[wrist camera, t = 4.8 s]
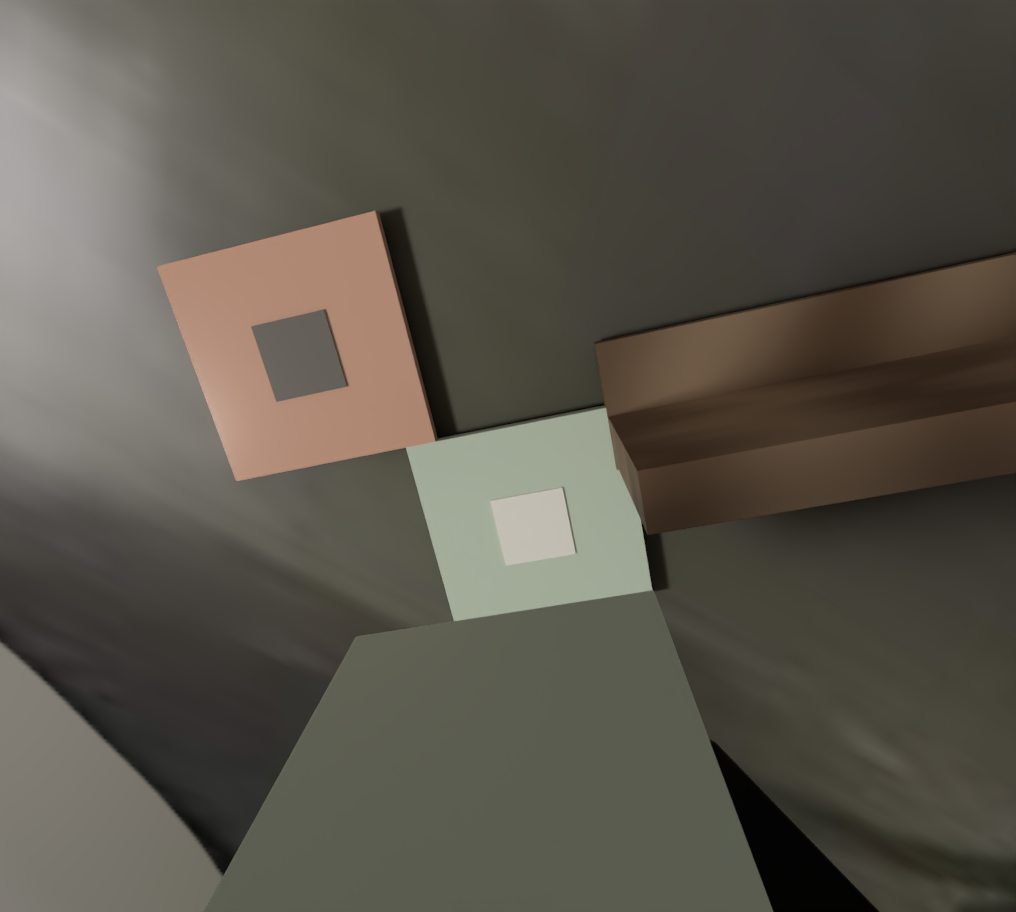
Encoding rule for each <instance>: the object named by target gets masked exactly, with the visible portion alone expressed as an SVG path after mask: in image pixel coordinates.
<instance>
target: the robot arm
mask: <svg viewBox="0 0 1016 912" xmlns="http://www.w3.org/2000/svg"><path fill="white" fill-rule="evenodd" d="M710 743H711V746H712V748H713V751H714V754H715V756H716V759H717V762H718V765H719V767H720V770H721V773H722V775H723V778H724V781H725V783H726V786H727V789H728V791H729V794H730V797H731V799H732V802H733V805H734V807H735V810H736V813H737V816H738V818H739V821H740V824H741V826H742V829H743V832H744V834H745V837H746V840H747V842H748V845H749V848H750V850H751V853H752V856H753V858H754V861H755V864H756V867H757V869H758V872H759V875H760V877H761V880H762V883H763V885H764V888H765V891H766V893H767V896H768V899H769V901H770V904H771V907H772V909H773V912H879V911H878V910H877V909H876V908H875V907H874V906H873V905H872V904H871V903H870V902H869V901H868V900H867V898H866V897H865V896H864V895H863V894H862V893H861V892H860V891H859V890H858V889H857V888H856V887H855V886H854V885H853V884H852V883H851V882H850V881H849V880H848V879H847V878H846V877H845V876H844V875H843V874H842V873H841V872H840V871H839V870H838V868H837V867H836V866H835V865H834V864H833V863H832V862H831V861H830V860H829V859H828V858H827V857H826V856H825V855H824V854H823V853H822V852H821V851H820V850H819V849H818V848H817V847H816V846H815V845H814V844H813V843H812V842H811V841H810V840H809V839H808V837H807V836H806V835H805V834H804V833H803V832H802V831H801V830H800V829H799V828H798V827H797V826H796V825H795V824H794V823H793V822H792V821H791V820H790V819H789V818H788V817H787V816H786V815H785V814H784V813H783V812H782V811H781V810H780V809H779V808H778V806H777V805H776V804H775V803H774V802H773V801H772V800H771V799H770V798H769V797H768V796H767V795H766V794H765V793H764V792H763V791H762V790H761V789H760V788H759V787H758V786H757V785H756V784H755V783H754V782H753V781H752V780H751V779H750V778H749V777H748V775H747V774H746V773H745V772H744V771H743V770H742V769H741V768H740V767H739V766H738V765H737V764H736V763H735V762H734V761H733V760H732V759H731V758H730V757H729V756H728V755H727V754H726V753H725V752H724V751H723V750H722V749H721V748H720V747H719V746H718V745H717V744H716V743H715V742H714V741H712V740H710Z"/></svg>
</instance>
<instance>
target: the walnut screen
mask: <svg viewBox="0 0 1016 912" xmlns="http://www.w3.org/2000/svg"><path fill="white" fill-rule="evenodd" d="M594 347H595V353H596V359H597V364H598V370H599V376H600V382H601V388H602V394H603V399H604V405H605V407H606V411H607V417H608V423H609V429H610V435H611V440H612V446H613V452H614V458H615V464H616V469H617V470H619V471H620V473H621V476H622V478H623V480H624V482H625V485H626V487H627V489H628V492H629V494H630V496H631V498H632V501H633V503H634V505H635V507H636V510H637V512H638V514H639V517H640V519H641V521H642V523H643V526H644V528H645V530H646V533H647V535H651V534H657V533H663V532H669V531H675V530H681V529H687V528H692V527H698V526H704V525H710V524H716V523H722V522H728V521H734V520H740V519H746V518H752V517H758V516H764V515H769V514H775V513H781V512H787V511H793V510H799V509H805V508H811V507H817V506H823V505H829V504H835V503H840V502H846V501H852V500H858V499H864V498H870V497H876V496H882V495H888V494H894V493H900V492H906V491H911V490H917V489H923V488H929V487H935V486H941V485H947V484H953V483H959V482H965V481H971V480H977V479H982V478H988V477H994V476H1000V475H1006V474H1012V473H1016V252H1014V253H1010V254H1005V255H1000V256H996V257H991V258H986V259H982V260H977V261H972V262H968V263H963V264H958V265H953V266H949V267H944V268H939V269H935V270H930V271H925V272H921V273H916V274H911V275H907V276H902V277H897V278H893V279H888V280H883V281H879V282H874V283H869V284H865V285H860V286H855V287H851V288H846V289H841V290H836V291H832V292H827V293H822V294H818V295H813V296H808V297H804V298H799V299H794V300H790V301H785V302H780V303H776V304H771V305H766V306H762V307H757V308H752V309H748V310H743V311H738V312H733V313H729V314H724V315H719V316H715V317H710V318H705V319H701V320H696V321H691V322H687V323H682V324H677V325H673V326H668V327H663V328H659V329H654V330H649V331H645V332H640V333H635V334H631V335H626V336H621V337H616V338H612V339H607V340H602V341H598V342H594Z"/></svg>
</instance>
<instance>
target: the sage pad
mask: <svg viewBox="0 0 1016 912" xmlns="http://www.w3.org/2000/svg"><path fill="white" fill-rule="evenodd" d="M406 450H407V453H408V457H409V460H410V464H411V468H412V471H413V475H414V478H415V482H416V486H417V489H418V493H419V496H420V500H421V504H422V507H423V511H424V514H425V518H426V522H427V525H428V529H429V532H430V536H431V540H432V543H433V547H434V550H435V554H436V558H437V561H438V565H439V568H440V572H441V576H442V579H443V583H444V586H445V590H446V594H447V597H448V601H449V604H450V608H451V612H452V615H453V619H454V621H459V620H466V619H472V618H479V617H485V616H491V615H498V614H504V613H511V612H517V611H523V610H530V609H536V608H543V607H549V606H555V605H562V604H568V603H575V602H581V601H587V600H594V599H600V598H607V597H613V596H619V595H626V594H632V593H639V592H645V591H651V590H652V585H651V579H650V573H649V567H648V561H647V555H646V549H645V542H644V536H643V530H642V524H641V519H640V517H639V514H638V512H637V510H636V507H635V505H634V503H633V501H632V498H631V496H630V494H629V492H628V489H627V487H626V485H625V482H624V480H623V478H622V476H621V473H620V471H619V470H617V469H616V464H615V458H614V452H613V446H612V440H611V435H610V429H609V423H608V417H607V411H606V407H605V405H603V406H598V407H593V408H588V409H583V410H578V411H573V412H568V413H563V414H558V415H553V416H548V417H543V418H538V419H533V420H528V421H523V422H518V423H513V424H508V425H503V426H498V427H493V428H488V429H483V430H478V431H473V432H468V433H463V434H458V435H453V436H448V437H443V438H438V439H437V440H436V442H431V443H426V444H421V445H416V446H411V447H406Z"/></svg>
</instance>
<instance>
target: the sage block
mask: <svg viewBox="0 0 1016 912" xmlns="http://www.w3.org/2000/svg"><path fill="white" fill-rule="evenodd" d="M204 912H773V909H772V907H771V904H770V901H769V899H768V896H767V893H766V891H765V888H764V885H763V883H762V880H761V877H760V875H759V872H758V869H757V867H756V864H755V861H754V858H753V856H752V853H751V850H750V848H749V845H748V842H747V840H746V837H745V834H744V832H743V829H742V826H741V824H740V821H739V818H738V816H737V813H736V810H735V807H734V805H733V802H732V799H731V797H730V794H729V791H728V789H727V786H726V783H725V781H724V778H723V775H722V773H721V770H720V767H719V765H718V762H717V759H716V756H715V754H714V751H713V748H712V746H711V743H710V740H709V738H708V735H707V732H706V730H705V727H704V724H703V722H702V719H701V716H700V714H699V711H698V708H697V705H696V703H695V700H694V697H693V695H692V692H691V689H690V687H689V684H688V681H687V679H686V676H685V673H684V671H683V668H682V665H681V663H680V660H679V657H678V655H677V652H676V649H675V646H674V644H673V641H672V638H671V636H670V633H669V630H668V628H667V625H666V622H665V620H664V617H663V614H662V612H661V609H660V606H659V604H658V601H657V598H656V595H655V593H654V590H651V591H645V592H639V593H632V594H626V595H619V596H613V597H607V598H600V599H594V600H587V601H581V602H575V603H568V604H562V605H555V606H549V607H543V608H536V609H530V610H523V611H517V612H511V613H504V614H498V615H491V616H485V617H479V618H472V619H466V620H459V621H453V622H447V623H440V624H434V625H427V626H421V627H415V628H408V629H402V630H395V631H389V632H383V633H376V634H370V635H363V636H357V637H355V639H354V641H353V643H352V645H351V646H350V648H349V650H348V652H347V654H346V655H345V657H344V659H343V661H342V663H341V665H340V666H339V668H338V670H337V672H336V674H335V675H334V677H333V679H332V681H331V683H330V684H329V686H328V688H327V690H326V692H325V693H324V695H323V697H322V699H321V701H320V702H319V704H318V706H317V708H316V710H315V711H314V713H313V715H312V717H311V719H310V720H309V722H308V724H307V726H306V728H305V730H304V731H303V733H302V735H301V737H300V739H299V740H298V742H297V744H296V746H295V748H294V749H293V751H292V753H291V755H290V757H289V758H288V760H287V762H286V764H285V766H284V767H283V769H282V771H281V773H280V775H279V776H278V778H277V780H276V782H275V784H274V785H273V787H272V789H271V791H270V793H269V795H268V796H267V798H266V800H265V802H264V804H263V805H262V807H261V809H260V811H259V813H258V814H257V816H256V818H255V820H254V822H253V823H252V825H251V827H250V829H249V831H248V832H247V834H246V836H245V838H244V840H243V841H242V843H241V845H240V847H239V849H238V850H237V852H236V854H235V856H234V858H233V860H232V861H231V863H230V865H229V867H228V869H227V870H226V872H225V874H224V876H223V878H222V879H221V881H220V883H219V885H218V887H217V888H216V891H215V892H214V894H213V896H212V897H211V899H210V901H209V903H208V905H207V906H206V908H205V910H204Z"/></svg>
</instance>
